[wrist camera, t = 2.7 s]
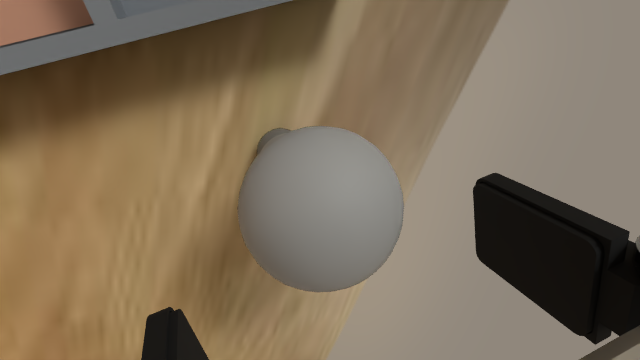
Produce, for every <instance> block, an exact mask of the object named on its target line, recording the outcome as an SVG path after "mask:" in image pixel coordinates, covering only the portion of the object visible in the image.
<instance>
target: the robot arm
mask: <svg viewBox="0 0 640 360" xmlns="http://www.w3.org/2000/svg"><path fill="white" fill-rule="evenodd" d="M473 198H474V219H475V239H476V254H477V256H478V258H479V260H480V261H481V262H482V263H484V264H485V265H486V266H487V267H489V268H490V269H491V270H493V271H494V272H495V273H496V274H498V275H499V276H500V277H502V278H503V279H504V280H506V281H507V282H508V283H510V284H511V285H512V286H514V287H515V288H516V289H517V290H519V291H520V292H521V293H523V294H524V295H525V296H526V297H528V298H529V299H531V300H532V301H533V302H534V303H536V304H537V305H538V306H540V307H541V308H542V309H544V310H545V311H546V312H547V313H549V314H550V315H551V316H553V317H554V318H555V319H557V320H558V321H559V322H560V323H562V324H563V325H564V326H566V327H567V328H568V329H570V330H571V331H572V332H574V333H575V334H577V335H579V336H585V337H586V338H587V339H589V340H590V341H591V342H592V343H594V344H597V343H599V342H601V341H602V340H604V339H606V338H608V337H609V336H611V331H613V332H614V333H616V334H617V335H619V337H618V338H616V339H614V340H613V341H611V342H609V343H607V344H606V345H604V346H602V347H600V348H598V349H597V350H595V351H593V352H592V353H590V354H588V355H586V356H584V357H583V358H581V359H579V360H640V236H639V237H638V238H637V240H636V242H635V243H634V242H631V241H629V240H628V238H629V231H627V230H625V229H622V228H620V227H618V226H616V225H613V224H611V223H609V222H607V221H604V220H602V219H600V218H598V217H595V216H593V215H591V214H588V213H586V212H584V211H582V210H579V209H577V208H575V207H573V206H570V205H568V204H566V203H563V202H561V201H559V200H557V199H554V198H552V197H550V196H548V195H545V194H543V193H541V192H539V191H536V190H534V189H532V188H530V187H527V186H525V185H523V184H521V183H518V182H516V181H514V180H511V179H509V178H507V177H505V176H502V175H500V174H498V173H492V174H490V175H488V176H485V177H483V178H480V179H478V180H477V182H476V185H475V186H474V188H473ZM141 360H209V359H208V357H207V355H206V353H205V351H204V350H203V348H202V346H201V344H200V342H199V341H198V339H197V337H196V335H195V333H194V332H193V330H192V328H191V326H190V324H189V323H188V321H187V319H186V317H185V315H184V313H183V312H182V310H181V309H178V310H175V311H174V310H173V309H172V308H171V307H168V308H166V309H163V310H161V311H159V312H156V313H154V314H151V315H149V316H148V317H147V321H146V329H145V336H144V343H143V351H142V358H141Z"/></svg>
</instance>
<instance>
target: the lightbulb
mask: <svg viewBox="0 0 640 360" xmlns="http://www.w3.org/2000/svg"><path fill="white" fill-rule="evenodd" d="M237 209H238V220H239V226H240V230H241V233H242V236H243V239H244V242H245V245H246V246H247V248H248V250H249V251H250V253H251V254H252V256H253V257H254V259H255V260H256V262H257V263H258V264H259V265H260V266H261V267H262V268H263V269H264V270H265V271H266V272H267V273H268V274H270V275H271V276H272V277H274V278H275V279H277V280H278V281H280V282H282V283H283V284H285V285H288V286H291V287H294V288H297V289H300V290H304V291H312V292H331V291H337V290H341V289H346V288H349V287H351V286H354V285H356V284H358V283H360V282H362V281H364V280H365V279H367V278H368V277H370V276H371V275H372V274H373V273H374V272H376V271H377V270H378V269H379V268H380V267H381V266H382V265H383V264H384V263H385V261H386V260H387V258H388V257H389V256H390V254H391V252H392V251H393V248H394V246H395V244H396V242H397V240H398V238H399V235H400V231H401V228H402V221H403V212H404V202H403V193H402V190H401V187H400V184H399V181H398V178H397V175H396V173H395V171H394V169H393V168H392V166H391V164H390V163H389V161H388V160H387V158H386V157H385V156H384V154H383V153H382V152H381V151H380V150H379V149H378V148H377V147H376V146H375V145H374V144H372V143H371V142H369V141H367V140H366V139H364V138H363V137H361V136H360V135H358V134H356V133H354V132H351V131H348V130H345V129H343V128H336V127H328V126H312V127H304V128H300V129H297V130H293V131H290V130H287V129H283V128H278V129H273V130H271V131H269V132H267V133H266V134H265V135H264V136H263V137H262V138H261V140H260V141H259V143H258V147H257V157H256V158H255V159H254V160H253V162H252V163H251V165H250V167H249V169H248V170H247V172H246V174H245V177H244V180H243V183H242V186H241V189H240V193H239V200H238V208H237Z"/></svg>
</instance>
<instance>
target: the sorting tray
mask: <svg viewBox="0 0 640 360" xmlns="http://www.w3.org/2000/svg"><path fill="white" fill-rule="evenodd" d="M288 1H292V0H0V75H3V74H7V73H11V72H15V71H19V70H23V69H26V68H30V67H34V66H38V65H42V64H46V63H50V62H54V61H58V60H62V59H65V58H69V57H73V56H77V55H81V54H85V53H89V52H93V51H97V50H101V49H104V48H108V47H112V46H116V45H120V44H124V43H128V42H132V41H136V40H140V39H144V38H147V37H151V36H155V35H159V34H163V33H167V32H171V31H175V30H179V29H183V28H186V27H190V26H194V25H198V24H202V23H206V22H210V21H214V20H218V19H222V18H225V17H229V16H233V15H237V14H241V13H245V12H249V11H253V10H257V9H261V8H264V7H268V6H272V5H276V4H280V3H284V2H288Z"/></svg>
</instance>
